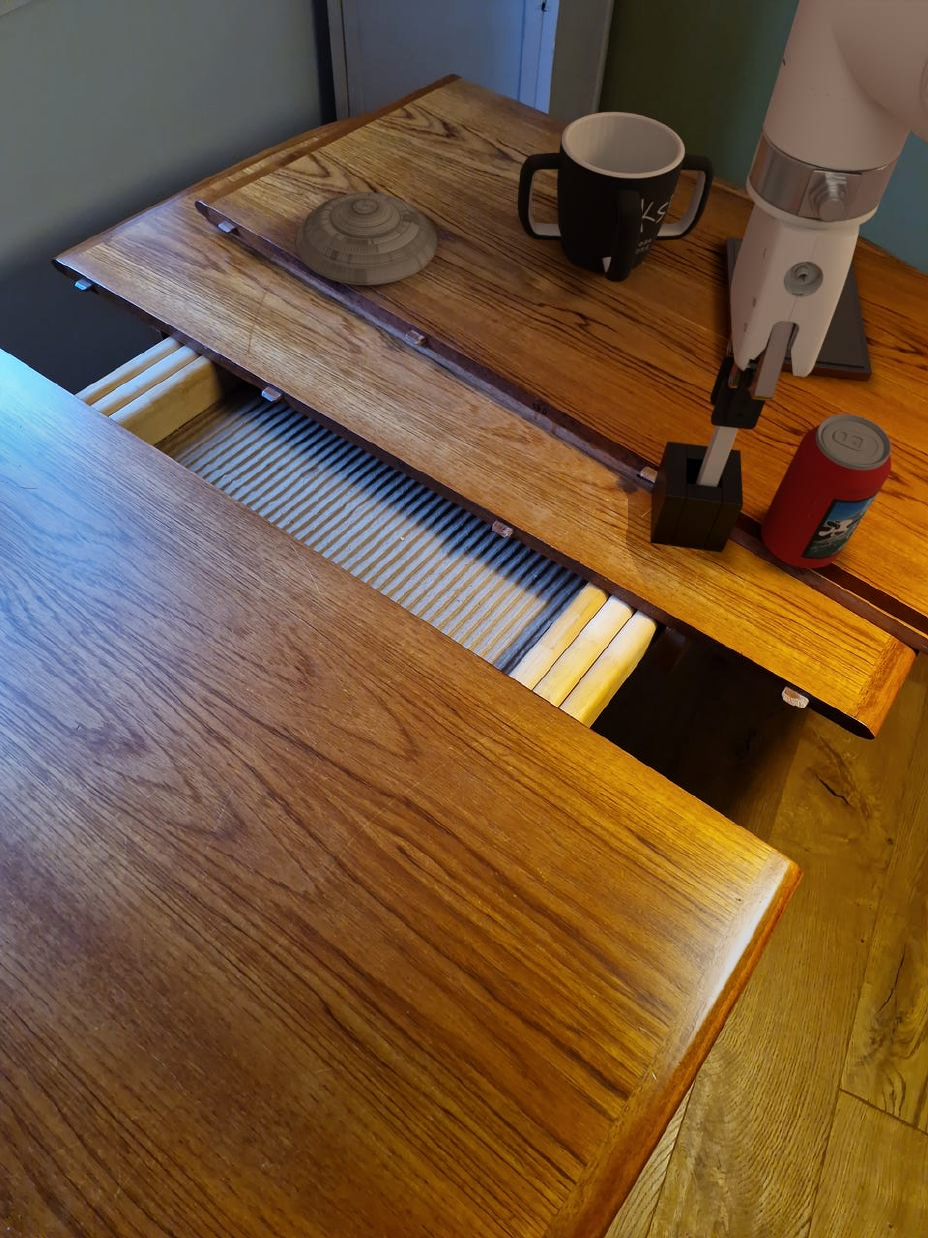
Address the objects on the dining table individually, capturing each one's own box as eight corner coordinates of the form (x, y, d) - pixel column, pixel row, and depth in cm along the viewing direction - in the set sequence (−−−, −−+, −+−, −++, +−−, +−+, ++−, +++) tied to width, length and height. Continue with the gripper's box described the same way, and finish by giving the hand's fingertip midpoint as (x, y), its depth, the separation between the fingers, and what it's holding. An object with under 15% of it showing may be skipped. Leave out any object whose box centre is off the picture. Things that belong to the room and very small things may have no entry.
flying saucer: (453, 226, 99) (454, 178, 94) (415, 308, 91) (415, 260, 86) (324, 202, 100) (319, 154, 96) (275, 281, 92) (268, 232, 88)
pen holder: (720, 499, 78) (740, 450, 73) (722, 553, 74) (743, 505, 69) (651, 490, 78) (667, 440, 73) (650, 543, 75) (666, 495, 70)
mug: (603, 319, 91) (625, 208, 81) (498, 244, 97) (506, 133, 87) (708, 260, 97) (740, 150, 87) (602, 193, 104) (621, 84, 94)
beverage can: (822, 587, 73) (886, 487, 63) (745, 551, 74) (794, 448, 65) (848, 533, 76) (912, 430, 66) (774, 500, 78) (825, 394, 68)
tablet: (847, 259, 98) (851, 249, 97) (868, 381, 87) (873, 372, 86) (724, 245, 99) (727, 235, 98) (729, 364, 88) (732, 355, 87)
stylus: (711, 487, 73) (763, 347, 61) (711, 500, 72) (764, 360, 61) (694, 485, 73) (742, 345, 62) (694, 498, 72) (743, 358, 61)
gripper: (907, 255, 46) (790, 499, 61) (870, 107, 55) (776, 352, 70) (760, 240, 46) (680, 485, 61) (747, 95, 55) (680, 341, 70)
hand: (731, 413), depth 66 cm, fingers closed on stylus, 1 cm apart
